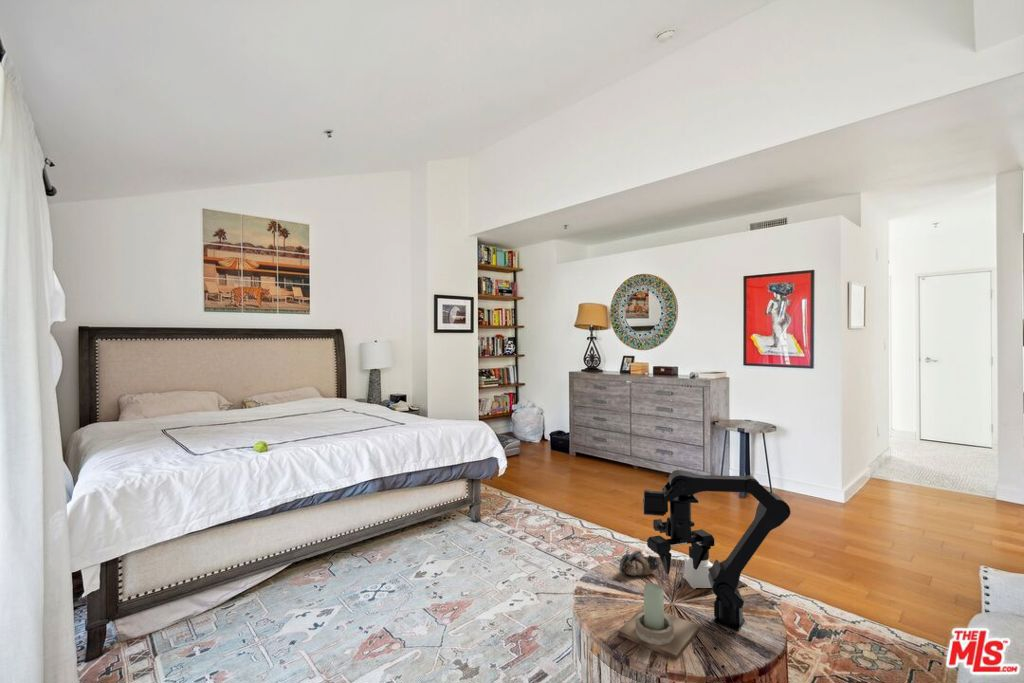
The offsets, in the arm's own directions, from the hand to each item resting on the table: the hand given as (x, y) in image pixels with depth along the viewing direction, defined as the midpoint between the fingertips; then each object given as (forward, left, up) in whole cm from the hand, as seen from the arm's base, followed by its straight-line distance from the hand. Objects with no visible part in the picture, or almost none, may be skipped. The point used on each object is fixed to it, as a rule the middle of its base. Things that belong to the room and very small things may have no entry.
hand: (681, 571), depth 136 cm
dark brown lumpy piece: (+21, -16, -13) cm, 29 cm away
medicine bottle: (+3, -22, -13) cm, 26 cm away
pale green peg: (+2, +14, -12) cm, 18 cm away
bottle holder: (+2, +11, -13) cm, 17 cm away
